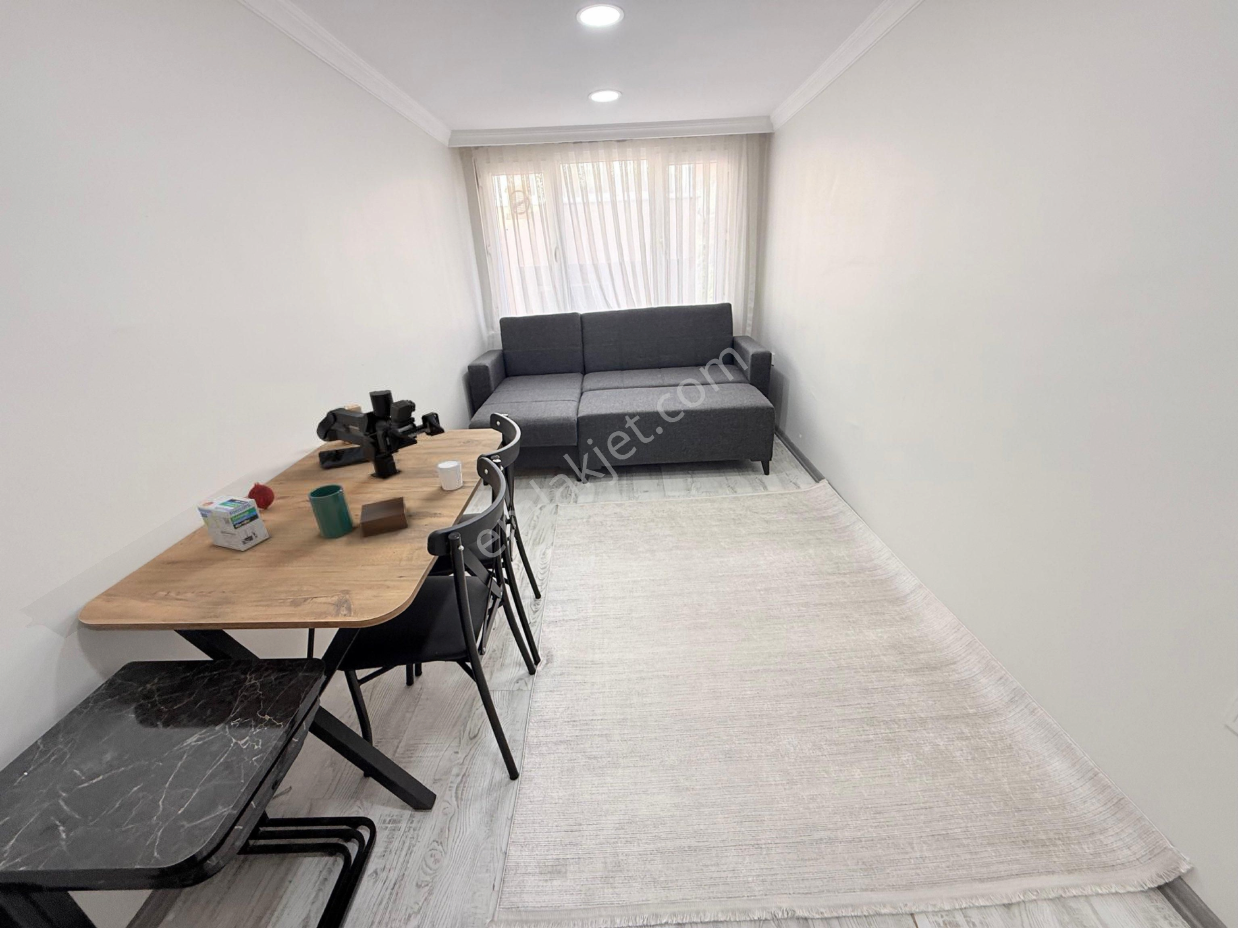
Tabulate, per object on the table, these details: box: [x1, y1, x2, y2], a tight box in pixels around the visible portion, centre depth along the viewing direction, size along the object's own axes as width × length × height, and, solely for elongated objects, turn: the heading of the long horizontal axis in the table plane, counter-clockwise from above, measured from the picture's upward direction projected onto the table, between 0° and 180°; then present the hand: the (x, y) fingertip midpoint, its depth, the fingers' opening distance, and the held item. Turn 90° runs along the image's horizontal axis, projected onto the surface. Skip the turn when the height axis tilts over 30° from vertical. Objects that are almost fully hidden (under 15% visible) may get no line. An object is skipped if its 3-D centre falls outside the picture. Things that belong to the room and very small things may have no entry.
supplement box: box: [334, 403, 363, 445], centre depth 181 cm, size 8×5×13 cm, turn 123°
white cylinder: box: [435, 459, 464, 491], centre depth 143 cm, size 7×7×7 cm
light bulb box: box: [196, 494, 270, 552], centre depth 118 cm, size 11×7×11 cm, turn 71°
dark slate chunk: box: [317, 445, 368, 470], centre depth 167 cm, size 15×22×5 cm
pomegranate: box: [247, 481, 275, 510], centre depth 134 cm, size 6×6×8 cm
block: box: [359, 496, 409, 538], centre depth 125 cm, size 10×10×4 cm
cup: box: [307, 483, 355, 539], centre depth 121 cm, size 7×7×11 cm
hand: (430, 436), depth 135 cm, fingers open, 9 cm apart
